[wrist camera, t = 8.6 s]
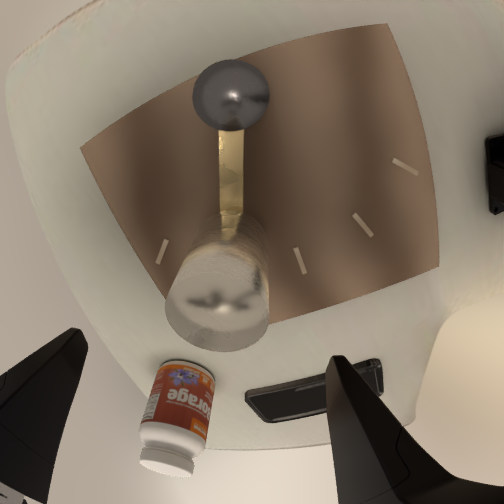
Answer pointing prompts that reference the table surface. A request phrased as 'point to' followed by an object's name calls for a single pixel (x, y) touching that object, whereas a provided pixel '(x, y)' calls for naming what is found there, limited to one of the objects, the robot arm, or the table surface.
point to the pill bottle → (176, 418)
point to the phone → (305, 395)
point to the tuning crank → (225, 225)
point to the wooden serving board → (289, 173)
